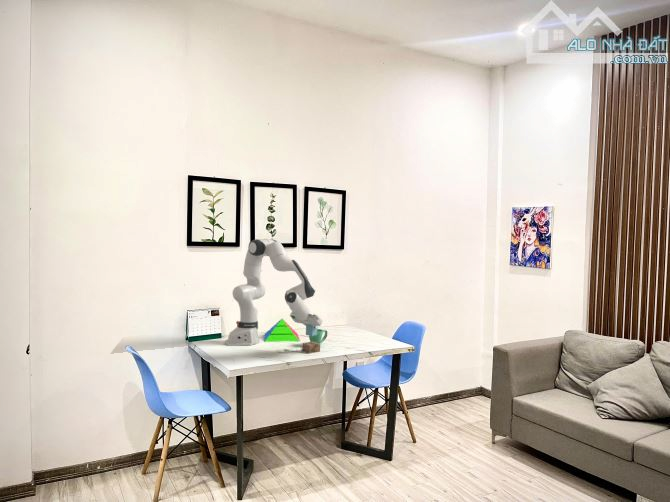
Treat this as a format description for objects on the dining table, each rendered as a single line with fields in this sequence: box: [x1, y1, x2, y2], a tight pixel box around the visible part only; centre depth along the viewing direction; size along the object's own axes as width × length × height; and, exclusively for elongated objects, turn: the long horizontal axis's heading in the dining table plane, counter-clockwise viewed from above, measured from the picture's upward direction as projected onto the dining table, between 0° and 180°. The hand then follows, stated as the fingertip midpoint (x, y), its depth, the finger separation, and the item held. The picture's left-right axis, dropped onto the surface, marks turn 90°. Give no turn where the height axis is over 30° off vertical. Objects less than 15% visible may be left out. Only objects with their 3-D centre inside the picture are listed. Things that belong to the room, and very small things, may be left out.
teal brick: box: [305, 324, 318, 337], centre depth 295 cm, size 5×5×9 cm
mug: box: [308, 328, 328, 345], centre depth 312 cm, size 15×10×10 cm
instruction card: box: [276, 347, 296, 353], centre depth 296 cm, size 10×7×1 cm
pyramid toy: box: [263, 318, 301, 343], centre depth 332 cm, size 25×25×14 cm
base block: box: [301, 341, 321, 354], centre depth 296 cm, size 8×8×5 cm
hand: (312, 326), depth 296 cm, fingers closed on teal brick, 5 cm apart
